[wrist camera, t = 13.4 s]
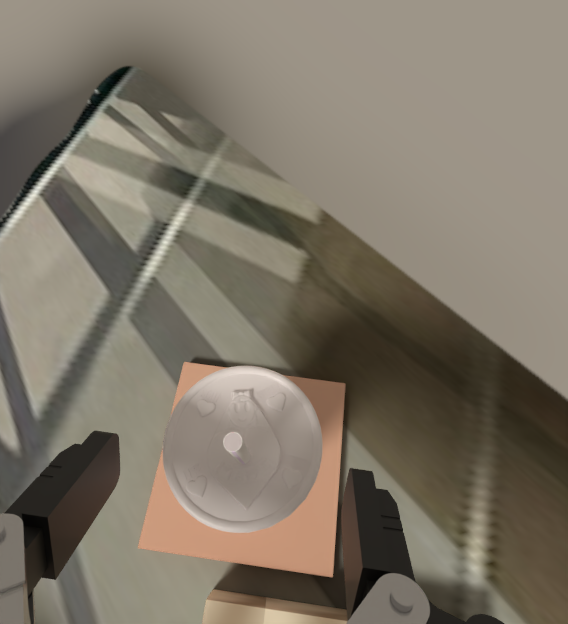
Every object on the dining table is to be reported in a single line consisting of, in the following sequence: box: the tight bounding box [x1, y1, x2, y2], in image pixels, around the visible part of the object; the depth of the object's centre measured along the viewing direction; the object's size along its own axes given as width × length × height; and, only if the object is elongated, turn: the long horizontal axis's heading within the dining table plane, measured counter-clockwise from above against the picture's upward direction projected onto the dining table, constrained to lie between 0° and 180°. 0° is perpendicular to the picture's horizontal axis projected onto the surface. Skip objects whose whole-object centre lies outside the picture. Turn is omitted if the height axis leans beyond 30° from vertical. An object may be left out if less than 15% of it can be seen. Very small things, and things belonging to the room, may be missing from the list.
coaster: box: [138, 362, 345, 577], centre depth 25 cm, size 11×11×1 cm
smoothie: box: [163, 366, 323, 533], centre depth 18 cm, size 6×6×14 cm
